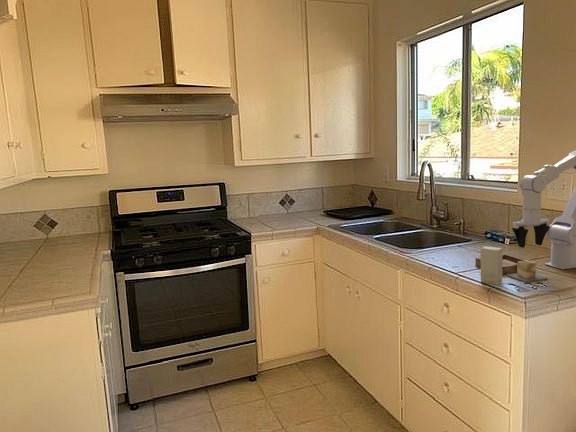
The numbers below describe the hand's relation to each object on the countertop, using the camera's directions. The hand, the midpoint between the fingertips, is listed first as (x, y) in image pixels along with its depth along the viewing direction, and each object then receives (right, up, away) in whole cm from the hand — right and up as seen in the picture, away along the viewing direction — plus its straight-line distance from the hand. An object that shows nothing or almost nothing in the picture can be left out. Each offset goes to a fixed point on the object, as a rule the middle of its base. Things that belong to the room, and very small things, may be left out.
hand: (530, 245), depth 163 cm
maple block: (-5, -10, -6) cm, 13 cm away
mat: (-5, -11, -6) cm, 13 cm away
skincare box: (-18, -12, -9) cm, 24 cm away
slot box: (-6, -9, +7) cm, 13 cm away
